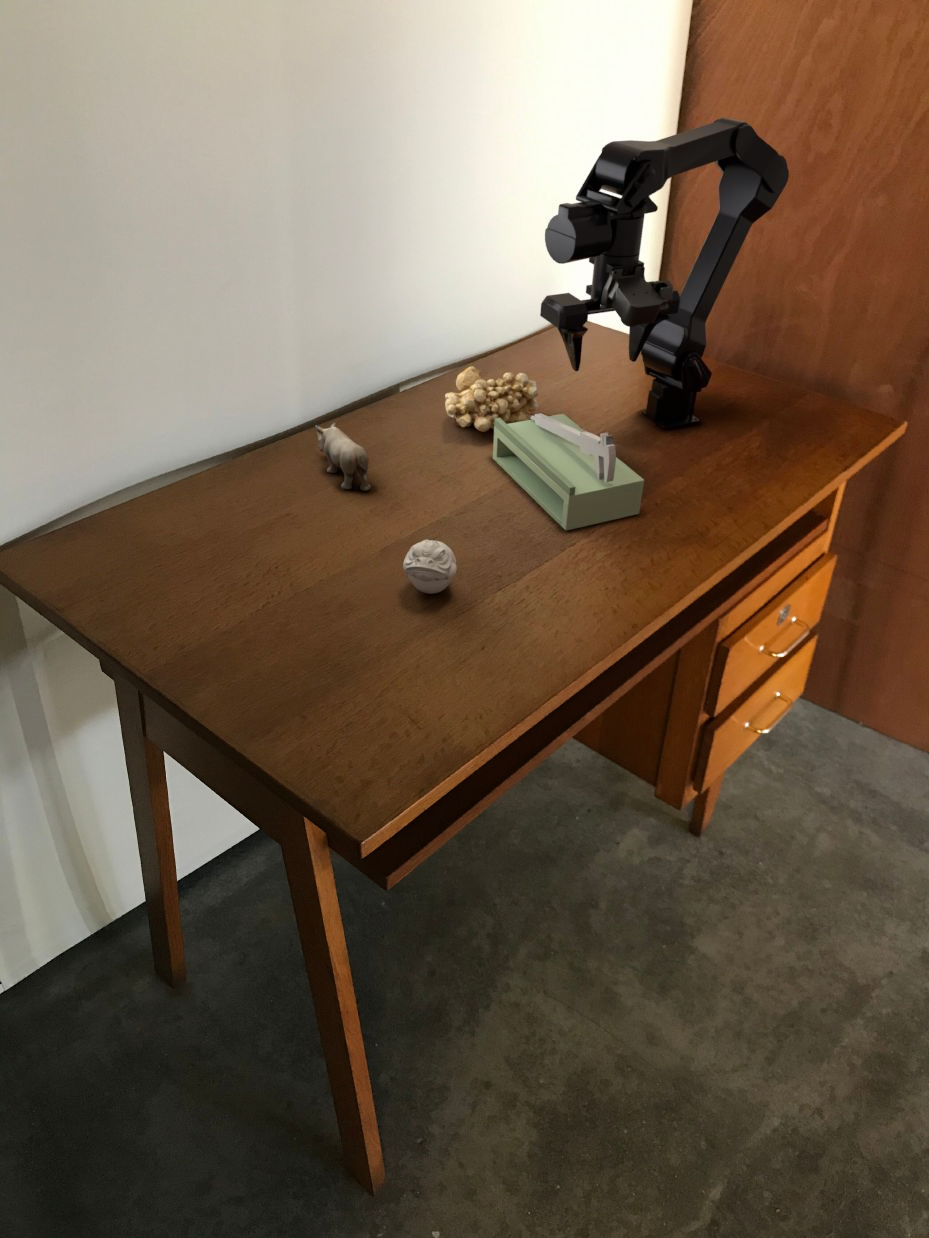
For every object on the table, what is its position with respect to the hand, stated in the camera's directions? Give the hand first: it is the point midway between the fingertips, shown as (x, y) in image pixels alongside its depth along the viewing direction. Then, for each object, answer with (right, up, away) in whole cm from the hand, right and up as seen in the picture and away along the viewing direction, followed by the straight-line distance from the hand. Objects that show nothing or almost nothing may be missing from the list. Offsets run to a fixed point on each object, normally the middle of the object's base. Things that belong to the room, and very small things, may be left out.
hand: (604, 365), depth 139 cm
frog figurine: (-23, -32, -24) cm, 46 cm away
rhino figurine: (-36, -15, -1) cm, 39 cm away
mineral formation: (-17, -6, +11) cm, 21 cm away
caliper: (-5, -13, -5) cm, 15 cm away
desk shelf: (-6, -17, -3) cm, 18 cm away
